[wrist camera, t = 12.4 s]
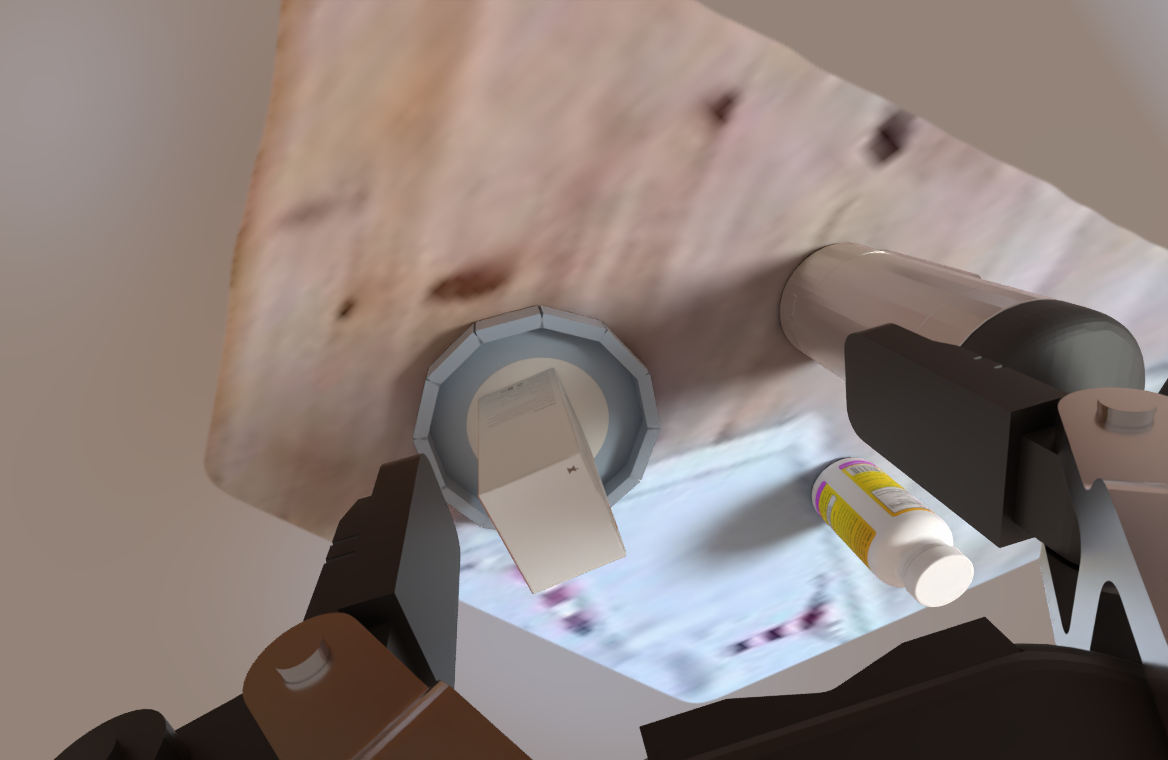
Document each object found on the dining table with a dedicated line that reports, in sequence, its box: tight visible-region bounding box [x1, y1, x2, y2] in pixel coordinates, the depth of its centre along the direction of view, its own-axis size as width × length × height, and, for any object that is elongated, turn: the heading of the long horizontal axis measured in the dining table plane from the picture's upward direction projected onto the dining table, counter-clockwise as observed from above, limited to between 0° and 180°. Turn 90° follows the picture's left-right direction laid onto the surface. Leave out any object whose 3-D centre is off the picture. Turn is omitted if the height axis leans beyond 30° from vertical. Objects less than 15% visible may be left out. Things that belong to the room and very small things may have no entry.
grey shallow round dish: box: [413, 305, 660, 530], centre depth 45 cm, size 18×18×2 cm
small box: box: [478, 368, 626, 594], centre depth 39 cm, size 8×6×13 cm
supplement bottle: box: [812, 458, 974, 607], centre depth 48 cm, size 7×7×13 cm
